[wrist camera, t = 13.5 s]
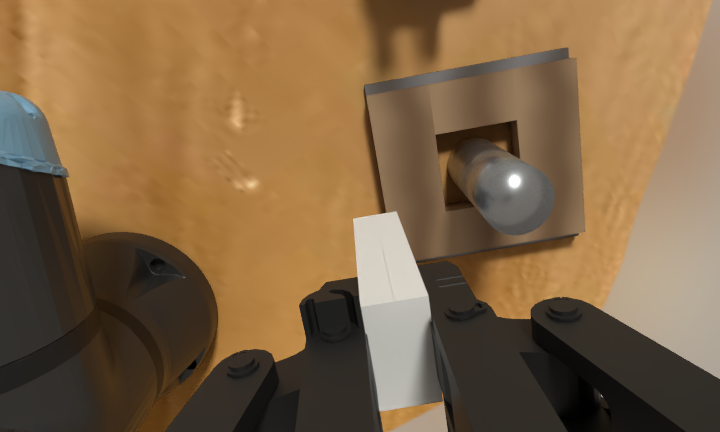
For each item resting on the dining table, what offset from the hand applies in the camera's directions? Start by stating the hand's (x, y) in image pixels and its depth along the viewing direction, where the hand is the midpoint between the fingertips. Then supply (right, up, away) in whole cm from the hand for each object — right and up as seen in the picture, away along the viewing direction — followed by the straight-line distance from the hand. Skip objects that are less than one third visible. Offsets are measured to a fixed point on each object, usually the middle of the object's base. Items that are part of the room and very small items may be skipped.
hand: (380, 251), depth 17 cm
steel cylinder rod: (+9, +6, +25) cm, 27 cm away
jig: (+9, +6, +25) cm, 27 cm away
